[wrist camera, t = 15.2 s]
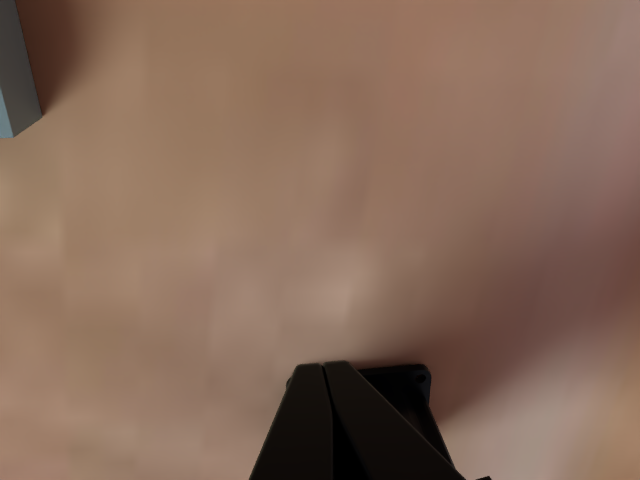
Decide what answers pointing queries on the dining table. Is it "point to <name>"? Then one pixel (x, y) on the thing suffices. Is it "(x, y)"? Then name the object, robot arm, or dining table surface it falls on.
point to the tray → (15, 76)
